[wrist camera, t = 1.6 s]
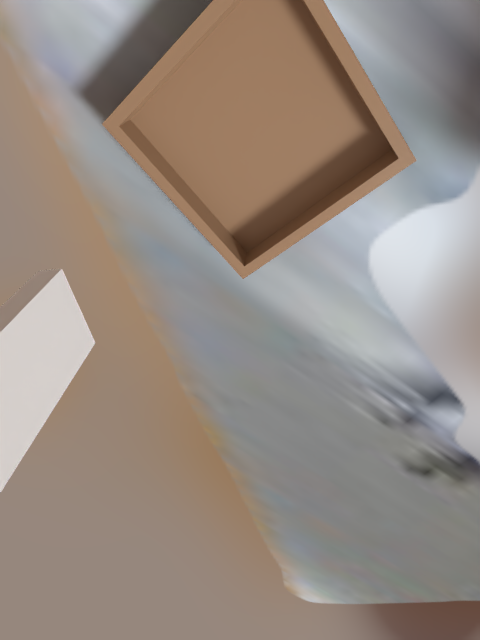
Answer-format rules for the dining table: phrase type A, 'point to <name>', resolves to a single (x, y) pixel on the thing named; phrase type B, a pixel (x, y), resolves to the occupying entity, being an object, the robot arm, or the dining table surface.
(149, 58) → the dining table surface
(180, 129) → the brown square tray
